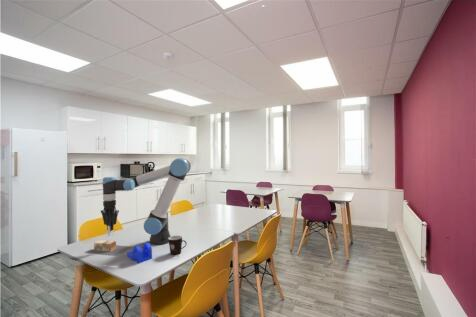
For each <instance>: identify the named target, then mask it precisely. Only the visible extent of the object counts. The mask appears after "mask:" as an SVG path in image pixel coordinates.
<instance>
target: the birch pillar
mask: <svg viewBox="0 0 476 317" xmlns="http://www.w3.org/2000/svg"><path fill="white" fill-rule="evenodd" d="M116 245H117V241H116V240H103V239H99V240H97V241H95V242H93V247H94V248H93V250H98V251H112V250H114V249H116Z"/></svg>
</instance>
